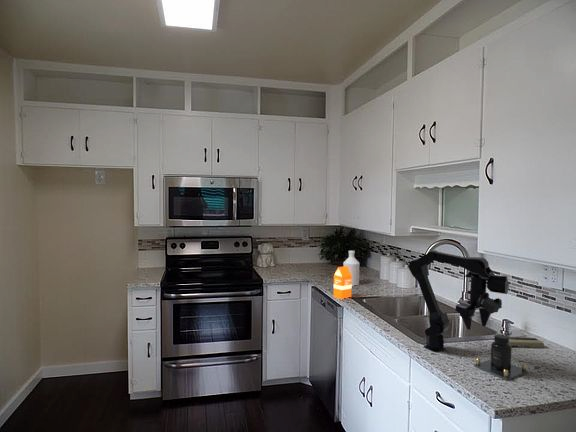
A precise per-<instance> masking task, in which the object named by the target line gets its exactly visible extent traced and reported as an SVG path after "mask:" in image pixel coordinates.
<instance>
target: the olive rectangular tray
mask: <svg viewBox="0 0 576 432" xmlns="http://www.w3.org/2000/svg"><path fill="white" fill-rule="evenodd" d="M508 337H509V343H508V344H510V345H511V347H512V348H518V349H519V348H523V349H545V344H544V343H545V342H544V341H542V340H539V339H538V338H535V337H519V336H518V337H517V336H514V337H513V336H511V337H510V336H508Z"/></svg>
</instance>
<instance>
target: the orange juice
mask: <svg viewBox="0 0 576 432" xmlns="http://www.w3.org/2000/svg"><path fill="white" fill-rule="evenodd" d="M352 287H353V286H352V275H351V273H350V271H349V268H348V266H344V267H343V266H338V267H337V269H336V270H335V273H334V275H333V298H335V299H339V300H344V298H346V299H349V298H348V297H351V298H352V289H353V288H352Z"/></svg>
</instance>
